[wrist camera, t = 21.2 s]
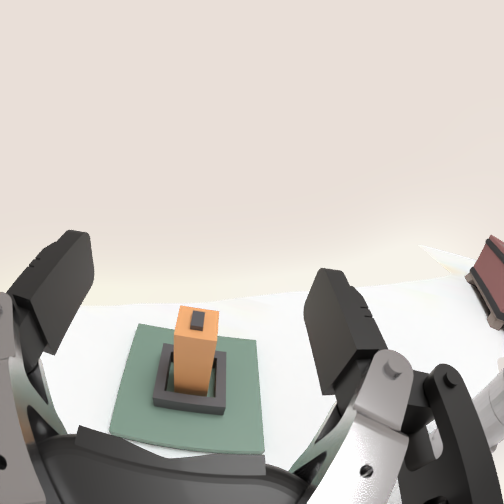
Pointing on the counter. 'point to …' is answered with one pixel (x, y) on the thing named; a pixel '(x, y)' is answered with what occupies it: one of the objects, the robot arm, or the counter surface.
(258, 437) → the board
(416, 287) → the counter surface
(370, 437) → the robot arm
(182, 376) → the plug
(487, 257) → the reddish brown chest
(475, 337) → the counter surface
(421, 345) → the counter surface
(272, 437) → the counter surface
